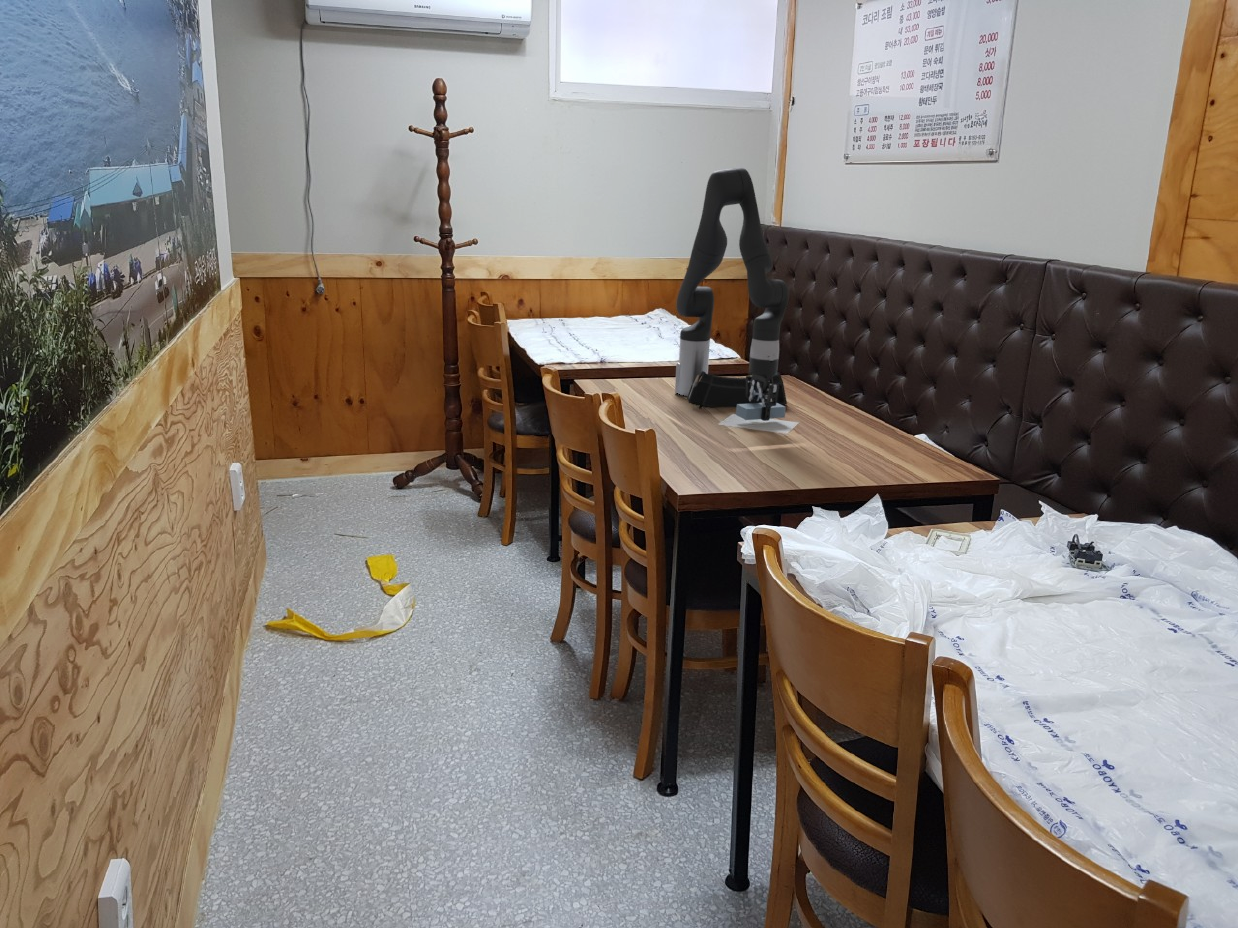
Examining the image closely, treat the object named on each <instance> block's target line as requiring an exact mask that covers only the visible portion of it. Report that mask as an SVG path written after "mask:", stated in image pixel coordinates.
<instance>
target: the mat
mask: <svg viewBox="0 0 1238 928" xmlns="http://www.w3.org/2000/svg"><path fill="white" fill-rule="evenodd" d="M799 423H800V422H799V421H791V420H783V419H777V418H772V419H769V420H768V421H763V420H761V419H756V420H745V419H743V418H741V417H739V416H737V415H736V413H732V414H731V415H729V416H727V417H726V418H725V419H723V420H722V421H720V422H719V423H718V424H717V425H719V426H726V427H732V428H733V427H734V428H741V429H748V430H749V429H750V430H754V431H762V432H768V433H769V432H770V433H778V434H784V435H785V434H786V435H788V434H789V433H790V432H791V431H793V429H794V428H795V427H796V426H797V425H799Z"/></svg>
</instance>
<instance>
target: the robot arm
mask: <svg viewBox="0 0 1238 928" xmlns="http://www.w3.org/2000/svg"><path fill="white" fill-rule="evenodd" d="M705 188H706V189H705V195H704V201H703V207H702V211H701V216H700V221H699V225H698V229H697V232H696V236H695V239H694V242H693V245H692V250H691V253H690V258H689V262H688V265H687V269H686V272H685V275H684V277H683V279H682V283H681V284H680V288H679V290H678V293H677V298H676V303H675V305H676V307H675V308H676V311H677V313H678V315H679V316H681V317H684V318H698V319H697V321H695V323H693V324H691V325H689V326H687V327H684V328H682V329H681V330H680V333H679V334H680V335H679V352H678V362H676V365H675V383H674V386H675V387H674V394H675V393H678V394H677V395H679V394H680V396H683V395H684V396H685V397H688V394H689V391H690V388H691V386H692V385H693V384H694V382H695V380H696V378H697V376H698V375H699V376H700V374H701V372H702V371H704V372H706V374H709V359H710V346H711V333H712V325H713V324H712V323H713V315H714V308H715V306H714V305H715V294H714V290H713V289H712V288H711V287H710V286H699V285H700V284H701V283H702V282H703V281H704V280H705V279H706V278H707V277H709V276H710V275H711V274H712V273H713V272H714V271H716V270H717V269H718V267H719V266H720V265H721V263H722V261H723V260H724V257H725V253H726V250H727V247H728V236H727V234H726V231H725V229H724V227H723V225H722V223H721V221H720V220H721V219H720V218H721V213H722V210H723V208H724V207H725V206H733V205H739V206H740V208H741V211H742V215H743V217H742V218H743V220H742V226H741V231H740V235H739V240H738V242H739V243H738V245H739V246H738V247H739V253H740V256H741V259H742V261H743V264H744V267H745V269H746V278H747V290H748V292H747V293H748V297H749V299H750V301H751V303H752V304H753V305H754V306H756V307H757V308H760V309H761V308H765V310H764V312H763V313H762V314H761V315H758V316H757V317H755V318H754V320H753V324H752V325H753V329H752V339H751V345H750V353H749V364H748V373H750V374H751V375H745V378H746V397H748V398H749V401H750V403H758V400H759V397H760V399H761V400H762V406H763V407H762V414H761V420H763V421H768V420H769V419H770V409H771V407H772V406H776V403H777V397H778V392H779V385H775V384H773V376H774V375H776V374H777V373H778V370H779V369H778V368H779V367H778V366H779V357H780V334H781V333H780V332H781V324H782V322H783V319H784V315H785V313H786V310H787V307H788V303H789V299H790V289H789V287H788V284H787V283H786V282H785V281H784V280H783V279H768V278H767V274H768V273H769V272H770V271H772V269H773V266H774V264H773V259H772V256H771V254H770V251H769V248H768V246H767V243H766V240H765V237H764V234H763V230H762V225H761V220H760V213H759V207H758V202H757V197H756V192H755V187H754V183H753V179H752V177H751V175H750V173H749V170H747V169H745V168H744V167H733V168H732V167H731V168H726V169H719V170H715V171H713V172H712V173H711V174H710V176H709V178H708V180H707V184H706V187H705ZM750 388H751V389H750ZM749 389H750V393H749ZM764 394H768V395H764ZM684 396H683V397H684ZM772 398H773V402H772ZM765 399H767V401H766V400H765Z"/></svg>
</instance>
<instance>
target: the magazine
mask: <svg viewBox="0 0 1238 928" xmlns="http://www.w3.org/2000/svg"><path fill="white" fill-rule="evenodd" d="M773 384H775V385H779V392H778V397H777V403H778V404H781V405H787V404H788V400H787V396H786V390H785V384H784V380H783V378H782V374H781V372H780V371H779V372H778V371H777V374H776V375H774V376H773ZM750 389H751V388H750ZM750 389H749V393H750ZM764 395H768V394H764ZM686 400H687V401H688V403H689V404H690V405H694V406H698V408H699V409H701V410H702V408H707V409H714V408H715V409H716V408H717V409H718V408H737V404H750V401H749V398H748V397H746V377H729V376H720V375H715V374H714V375H713V374H712V373H708V374H706V372H704V371H702V372H701V374H700V376H699V375H698V376H697V378H696V380H695V382H694V384H693V385H692V386H691V388H690V391H689V394H688V396H686ZM765 400H766V401H767V399H765ZM772 402H773V398H772ZM758 403H762V400H761V399H760V397H759V400H758Z"/></svg>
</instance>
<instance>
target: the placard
mask: <svg viewBox="0 0 1238 928" xmlns="http://www.w3.org/2000/svg"><path fill="white" fill-rule="evenodd" d="M762 407H763V406H762V403H750V404H737V407H735V408H736V411H735V414H736V415H737V416H739V417H741V418H743V419H745V420H756V419H761V414H762ZM783 418H786V406H784V404H782V405H781V404H778V403H776V406H772V407H771V409H770V419H783Z"/></svg>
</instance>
